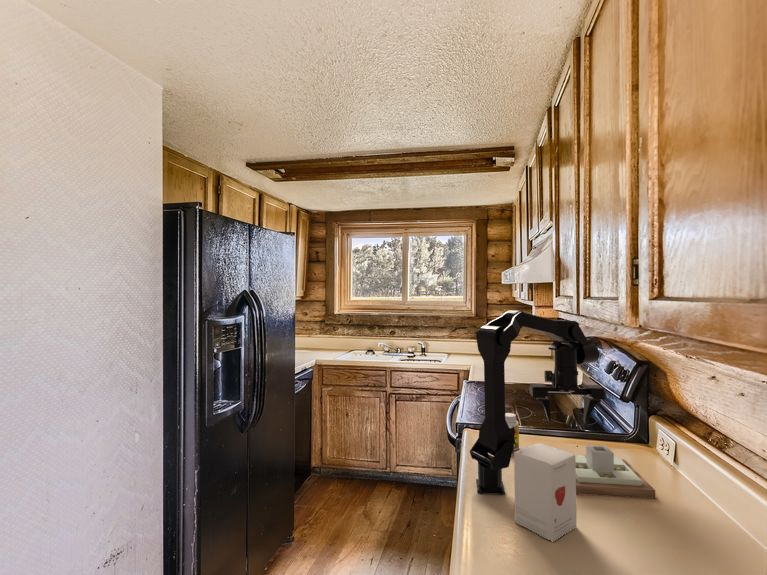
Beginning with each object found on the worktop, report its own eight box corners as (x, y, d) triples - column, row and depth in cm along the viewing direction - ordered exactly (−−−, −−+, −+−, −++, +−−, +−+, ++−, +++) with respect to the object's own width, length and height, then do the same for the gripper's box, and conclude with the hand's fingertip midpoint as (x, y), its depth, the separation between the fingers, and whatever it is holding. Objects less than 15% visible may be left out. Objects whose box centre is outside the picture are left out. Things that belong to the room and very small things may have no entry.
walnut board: (655, 498, 95) (654, 468, 95) (572, 493, 98) (571, 463, 98) (624, 466, 113) (623, 440, 113) (554, 462, 116) (554, 437, 116)
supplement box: (553, 544, 79) (551, 465, 79) (513, 523, 86) (512, 451, 86) (578, 527, 84) (576, 453, 84) (539, 509, 92) (537, 441, 92)
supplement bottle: (501, 450, 126) (500, 417, 126) (499, 444, 131) (498, 411, 131) (520, 451, 125) (520, 417, 125) (517, 444, 130) (516, 412, 130)
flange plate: (619, 461, 111) (618, 440, 111) (641, 485, 98) (641, 461, 98) (563, 458, 114) (563, 438, 114) (578, 481, 100) (578, 458, 100)
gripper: (592, 361, 120) (594, 415, 120) (525, 360, 124) (526, 413, 123) (606, 368, 109) (607, 427, 109) (532, 367, 113) (533, 424, 112)
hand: (567, 422), depth 114 cm, fingers open, 9 cm apart
